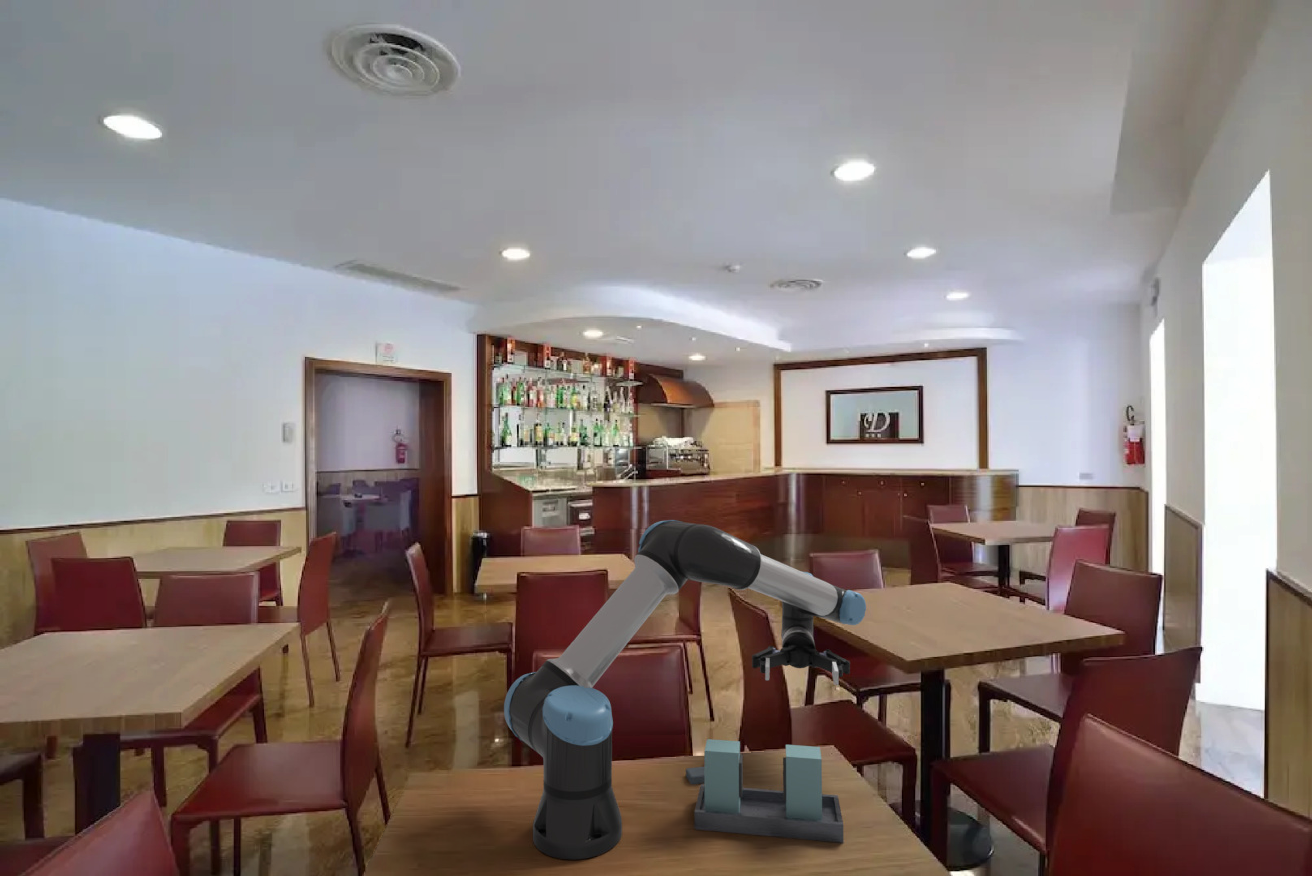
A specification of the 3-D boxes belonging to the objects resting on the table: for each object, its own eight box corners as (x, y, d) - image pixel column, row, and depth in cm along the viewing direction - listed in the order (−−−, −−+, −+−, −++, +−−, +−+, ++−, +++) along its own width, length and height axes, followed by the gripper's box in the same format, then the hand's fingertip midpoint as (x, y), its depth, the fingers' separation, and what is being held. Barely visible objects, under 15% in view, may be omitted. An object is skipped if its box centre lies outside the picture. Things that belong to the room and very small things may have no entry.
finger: (783, 820, 118) (783, 756, 119) (783, 805, 123) (782, 744, 123) (822, 823, 117) (821, 759, 117) (820, 809, 122) (819, 746, 122)
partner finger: (704, 813, 121) (704, 750, 121) (707, 799, 125) (707, 739, 126) (741, 816, 119) (741, 753, 120) (743, 802, 124) (742, 741, 125)
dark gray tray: (694, 829, 118) (694, 811, 118) (700, 800, 128) (700, 784, 128) (843, 842, 114) (843, 824, 114) (838, 811, 124) (837, 795, 124)
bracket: (685, 777, 138) (685, 767, 138) (734, 772, 141) (734, 762, 141) (691, 787, 134) (691, 776, 134) (740, 780, 137) (740, 770, 137)
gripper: (854, 667, 155) (866, 699, 135) (744, 660, 160) (738, 690, 139) (854, 634, 156) (866, 660, 135) (744, 628, 160) (739, 653, 139)
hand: (801, 675), depth 137 cm, fingers open, 13 cm apart
